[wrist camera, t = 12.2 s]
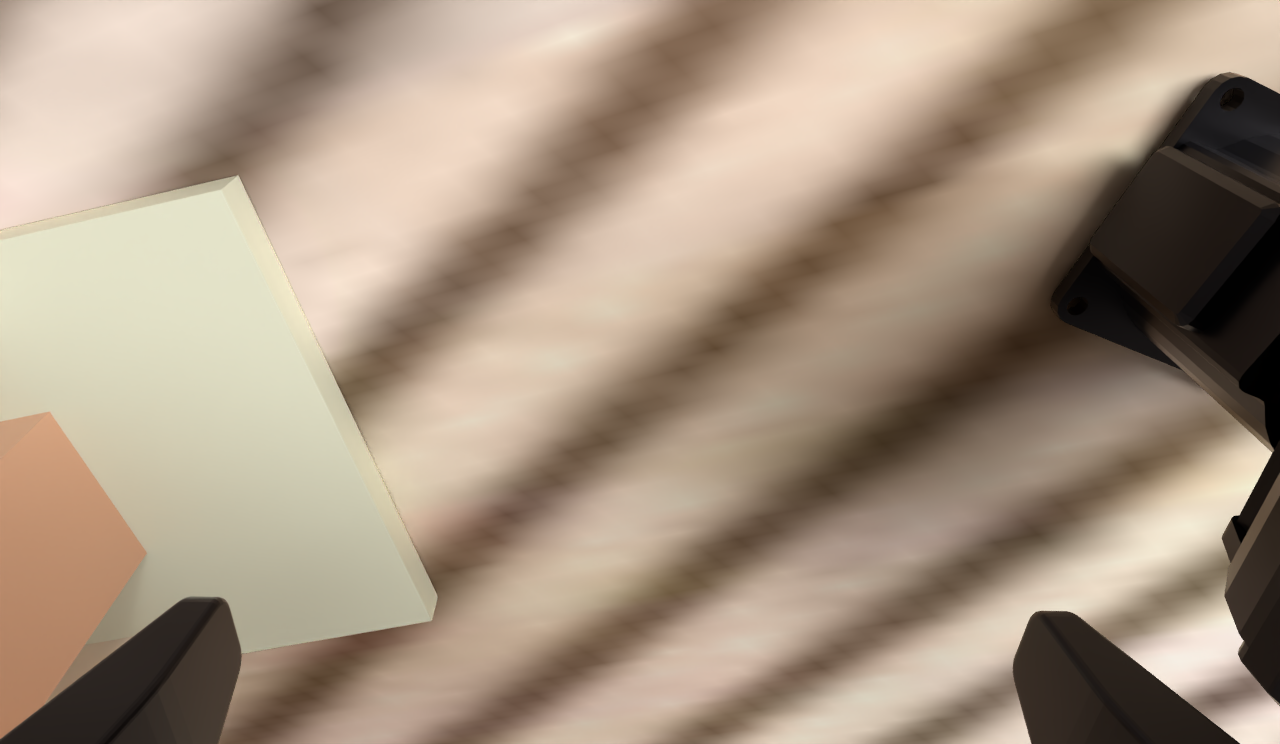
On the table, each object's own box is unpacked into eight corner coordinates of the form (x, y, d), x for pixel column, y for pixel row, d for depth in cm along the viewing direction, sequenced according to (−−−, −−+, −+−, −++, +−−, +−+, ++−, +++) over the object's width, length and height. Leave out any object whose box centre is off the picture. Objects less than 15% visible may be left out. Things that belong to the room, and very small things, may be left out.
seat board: (238, 175, 20) (160, 241, 17) (437, 596, 27) (411, 703, 24) (-365, 314, 22) (-549, 400, 18) (-27, 679, 29) (-115, 790, 25)
